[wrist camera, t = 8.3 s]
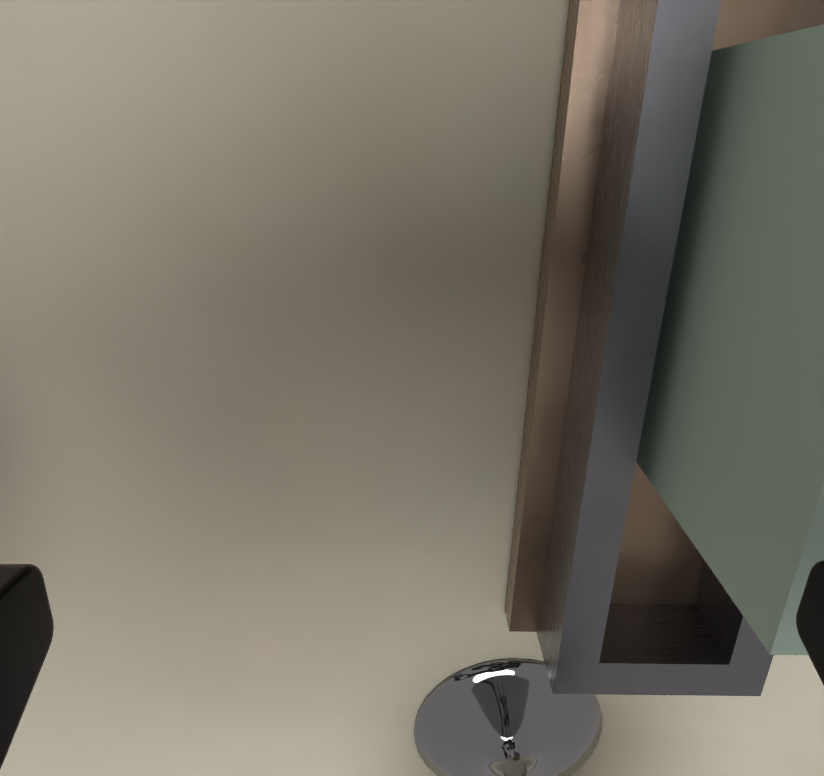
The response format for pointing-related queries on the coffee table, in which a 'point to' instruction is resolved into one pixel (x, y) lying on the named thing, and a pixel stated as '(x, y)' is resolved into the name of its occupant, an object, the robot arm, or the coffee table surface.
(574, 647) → the grey long open box
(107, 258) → the coffee table surface
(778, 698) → the coffee table surface
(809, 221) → the pale green rectangular block
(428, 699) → the wine glass
